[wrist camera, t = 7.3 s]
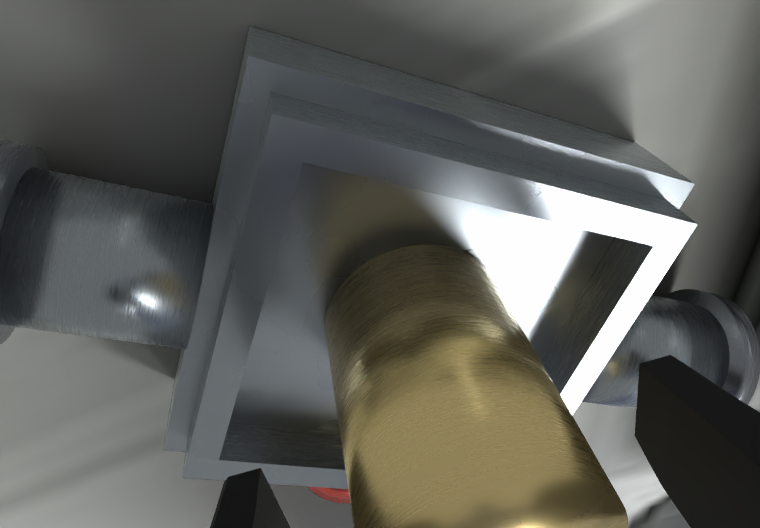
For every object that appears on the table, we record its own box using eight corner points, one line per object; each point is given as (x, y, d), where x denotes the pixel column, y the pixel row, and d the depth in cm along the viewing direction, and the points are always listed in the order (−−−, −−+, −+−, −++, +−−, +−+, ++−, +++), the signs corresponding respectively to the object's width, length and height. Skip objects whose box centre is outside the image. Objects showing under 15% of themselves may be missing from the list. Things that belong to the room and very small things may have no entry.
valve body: (753, 178, 17) (876, 252, 14) (570, 449, 22) (625, 550, 19) (28, -41, 11) (-67, -7, 8) (11, 392, 16) (-51, 523, 13)
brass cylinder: (442, 401, 16) (525, 642, 11) (295, 361, 14) (316, 623, 9) (533, 279, 14) (682, 501, 9) (378, 217, 12) (457, 448, 8)
